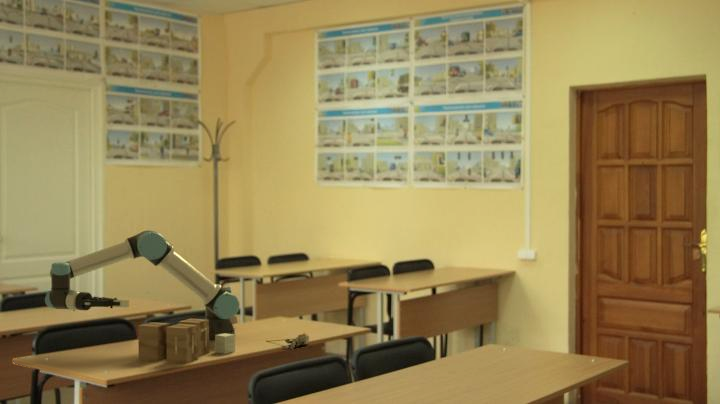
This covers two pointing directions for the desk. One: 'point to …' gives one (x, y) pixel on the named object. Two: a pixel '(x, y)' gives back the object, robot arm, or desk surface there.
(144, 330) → the plain block
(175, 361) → the block one
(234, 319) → the toy
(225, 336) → the product box
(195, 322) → the block seven
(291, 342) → the toy
